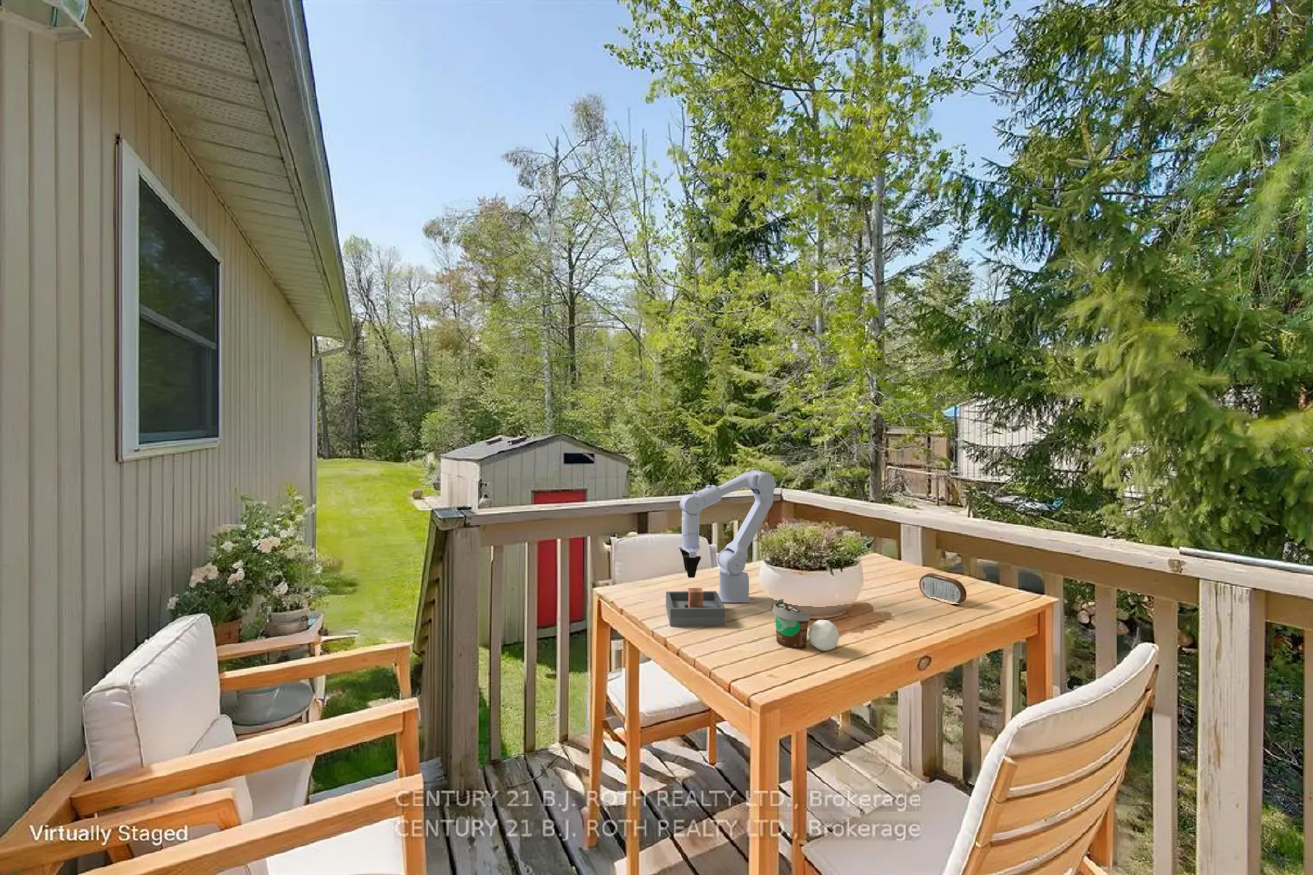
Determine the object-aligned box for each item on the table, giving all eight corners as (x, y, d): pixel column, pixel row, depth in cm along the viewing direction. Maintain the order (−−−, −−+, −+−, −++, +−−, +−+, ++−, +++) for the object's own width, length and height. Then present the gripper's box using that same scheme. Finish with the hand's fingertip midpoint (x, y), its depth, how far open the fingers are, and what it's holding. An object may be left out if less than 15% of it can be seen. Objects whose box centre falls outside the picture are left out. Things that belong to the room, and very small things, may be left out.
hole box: (715, 606, 182) (716, 591, 182) (725, 625, 166) (725, 608, 166) (665, 607, 181) (666, 591, 181) (670, 626, 165) (670, 609, 165)
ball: (818, 655, 153) (817, 625, 157) (846, 653, 148) (843, 622, 152) (803, 648, 149) (802, 617, 153) (831, 645, 144) (829, 613, 148)
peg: (701, 613, 176) (701, 587, 175) (703, 618, 172) (703, 592, 171) (688, 613, 176) (688, 588, 175) (689, 618, 172) (690, 592, 171)
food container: (762, 636, 159) (763, 600, 158) (781, 633, 161) (782, 598, 160) (789, 654, 147) (790, 615, 147) (809, 650, 150) (810, 612, 149)
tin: (966, 607, 185) (967, 581, 184) (961, 608, 183) (962, 582, 182) (922, 594, 197) (923, 570, 197) (917, 595, 195) (918, 571, 195)
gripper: (675, 527, 191) (675, 567, 192) (680, 537, 177) (679, 580, 178) (696, 527, 192) (696, 567, 193) (703, 537, 177) (702, 580, 178)
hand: (689, 573), depth 185 cm, fingers open, 7 cm apart
